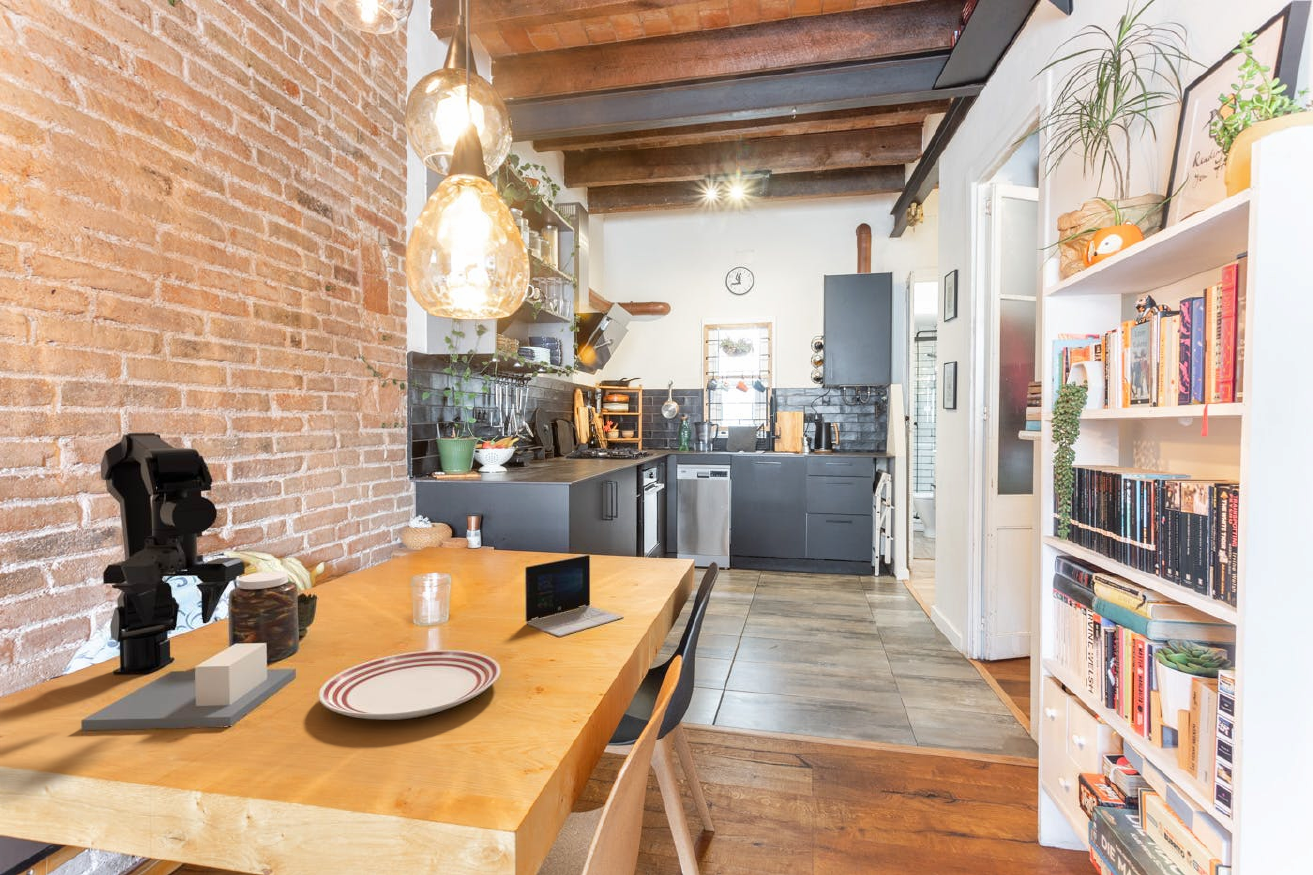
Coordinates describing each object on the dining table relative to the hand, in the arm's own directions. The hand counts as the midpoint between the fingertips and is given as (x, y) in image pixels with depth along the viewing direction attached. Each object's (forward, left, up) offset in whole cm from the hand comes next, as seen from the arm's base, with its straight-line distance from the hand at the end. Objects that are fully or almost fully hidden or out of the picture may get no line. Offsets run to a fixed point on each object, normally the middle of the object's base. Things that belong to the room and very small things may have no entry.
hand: (176, 623), depth 103 cm
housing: (+10, -2, -10) cm, 15 cm away
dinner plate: (+38, -1, -12) cm, 40 cm away
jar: (+3, +19, -12) cm, 23 cm away
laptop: (+61, +36, -13) cm, 72 cm away
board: (+4, -2, -12) cm, 13 cm away
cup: (+4, +29, -12) cm, 32 cm away
